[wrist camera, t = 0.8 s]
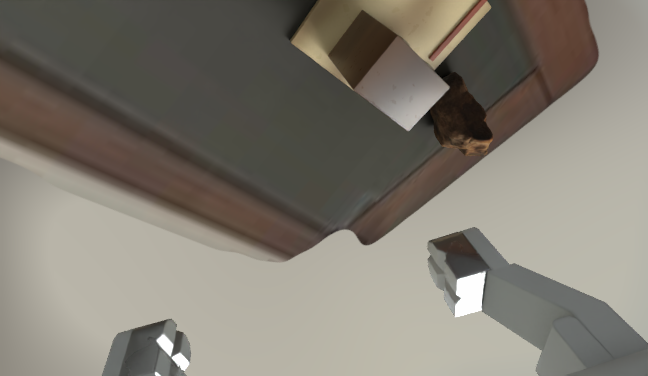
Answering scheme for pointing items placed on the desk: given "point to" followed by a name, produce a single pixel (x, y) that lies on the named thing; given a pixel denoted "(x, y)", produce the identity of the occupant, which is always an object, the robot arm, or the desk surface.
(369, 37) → the tall rectangular block
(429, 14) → the game board
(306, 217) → the desk surface
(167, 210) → the desk surface
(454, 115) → the decorative rock
